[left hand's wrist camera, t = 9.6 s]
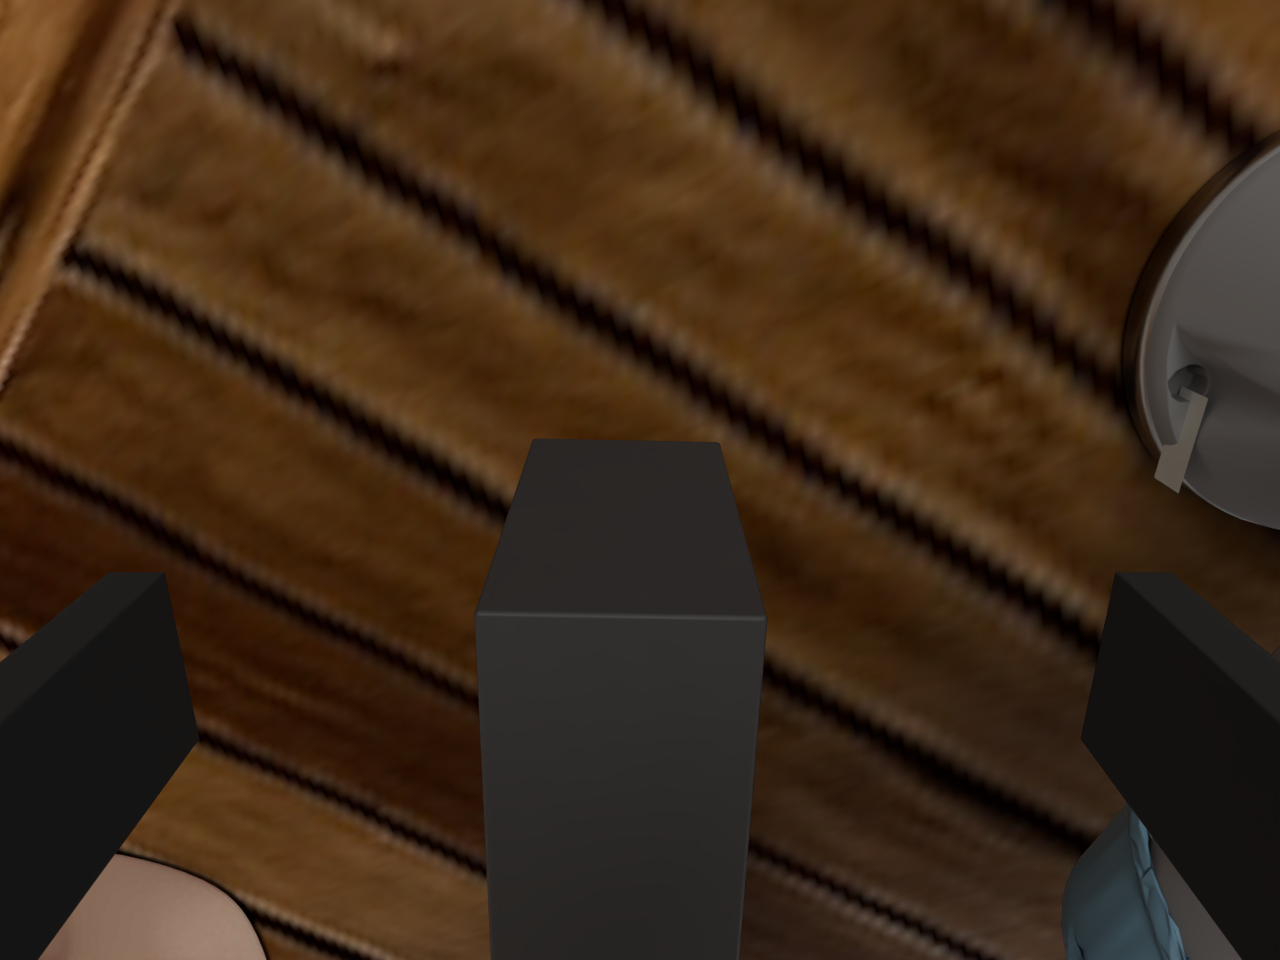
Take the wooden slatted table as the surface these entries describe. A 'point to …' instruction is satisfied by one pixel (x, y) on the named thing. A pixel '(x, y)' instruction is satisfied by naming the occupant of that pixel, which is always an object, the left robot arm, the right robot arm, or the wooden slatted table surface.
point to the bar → (619, 705)
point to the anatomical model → (154, 918)
